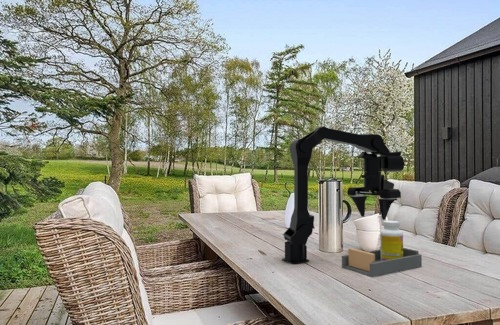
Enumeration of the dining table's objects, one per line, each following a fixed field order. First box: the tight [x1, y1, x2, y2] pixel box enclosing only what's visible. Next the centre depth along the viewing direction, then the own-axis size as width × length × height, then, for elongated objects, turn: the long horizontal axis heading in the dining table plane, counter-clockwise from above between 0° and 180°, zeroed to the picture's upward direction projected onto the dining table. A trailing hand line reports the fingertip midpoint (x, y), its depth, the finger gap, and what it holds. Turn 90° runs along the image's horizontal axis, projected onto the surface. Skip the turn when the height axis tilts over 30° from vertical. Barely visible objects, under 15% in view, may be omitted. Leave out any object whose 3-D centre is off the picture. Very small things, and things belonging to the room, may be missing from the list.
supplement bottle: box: [379, 220, 404, 261], centre depth 121 cm, size 7×7×13 cm
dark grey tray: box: [341, 247, 423, 278], centre depth 118 cm, size 21×12×5 cm, turn 120°
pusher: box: [347, 247, 375, 272], centre depth 114 cm, size 1×9×5 cm, turn 30°
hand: (373, 218), depth 132 cm, fingers open, 9 cm apart
